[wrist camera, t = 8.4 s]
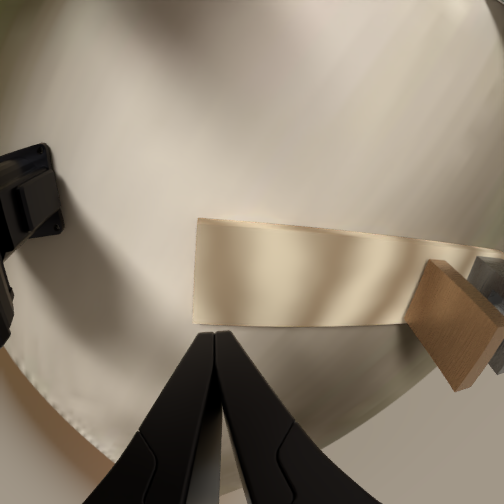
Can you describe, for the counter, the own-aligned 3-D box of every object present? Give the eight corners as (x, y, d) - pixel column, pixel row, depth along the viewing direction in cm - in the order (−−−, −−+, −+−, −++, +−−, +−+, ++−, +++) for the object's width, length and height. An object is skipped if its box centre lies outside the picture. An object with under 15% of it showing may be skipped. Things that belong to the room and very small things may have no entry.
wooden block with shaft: (403, 318, 24) (454, 392, 17) (429, 258, 22) (498, 327, 14) (480, 312, 26) (526, 364, 19) (502, 265, 24) (557, 313, 16)
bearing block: (449, 315, 26) (497, 375, 18) (476, 255, 23) (538, 309, 15) (476, 313, 27) (521, 365, 19) (501, 258, 24) (556, 305, 16)
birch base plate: (193, 315, 23) (192, 323, 22) (197, 217, 20) (197, 223, 19) (472, 311, 28) (476, 316, 27) (499, 250, 25) (505, 254, 24)
